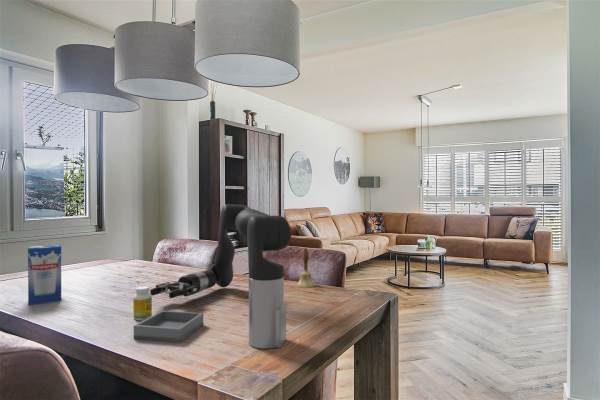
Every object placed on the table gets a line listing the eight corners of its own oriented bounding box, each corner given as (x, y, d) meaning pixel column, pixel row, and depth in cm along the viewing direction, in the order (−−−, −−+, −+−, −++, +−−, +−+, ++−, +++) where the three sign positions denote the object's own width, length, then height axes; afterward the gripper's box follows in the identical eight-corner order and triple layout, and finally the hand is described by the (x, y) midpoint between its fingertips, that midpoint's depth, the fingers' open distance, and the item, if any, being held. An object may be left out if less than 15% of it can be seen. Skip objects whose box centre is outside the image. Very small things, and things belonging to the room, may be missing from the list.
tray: (203, 324, 109) (203, 313, 109) (179, 342, 96) (179, 329, 96) (162, 321, 112) (162, 310, 112) (133, 338, 98) (133, 325, 98)
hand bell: (294, 287, 155) (294, 249, 155) (298, 282, 163) (298, 247, 163) (314, 288, 153) (314, 250, 153) (316, 283, 161) (316, 247, 161)
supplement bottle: (137, 315, 118) (137, 285, 118) (154, 314, 118) (154, 285, 118) (130, 320, 113) (130, 289, 113) (148, 320, 113) (148, 289, 113)
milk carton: (27, 305, 129) (27, 248, 129) (29, 301, 134) (28, 246, 134) (61, 300, 135) (61, 246, 135) (61, 296, 140) (61, 244, 140)
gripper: (178, 272, 140) (144, 280, 125) (208, 275, 134) (176, 284, 119) (178, 291, 140) (144, 302, 125) (208, 295, 134) (176, 307, 119)
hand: (160, 293), depth 122 cm, fingers open, 8 cm apart
